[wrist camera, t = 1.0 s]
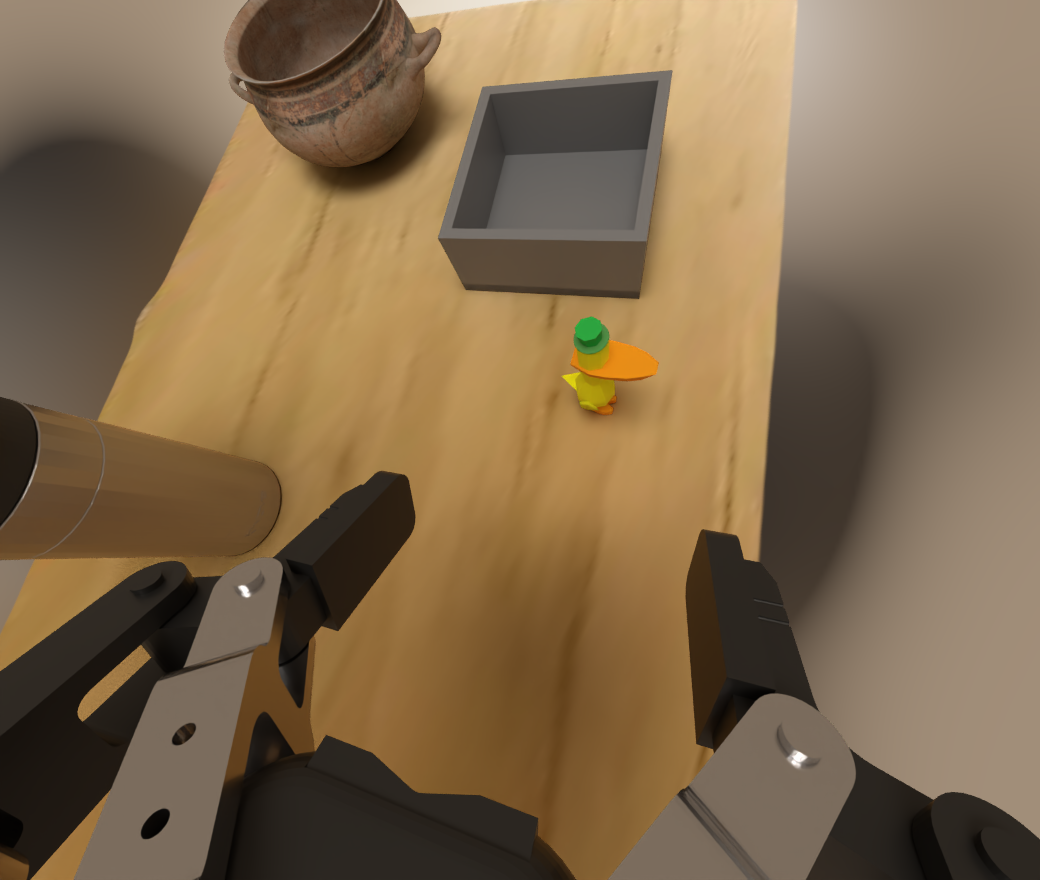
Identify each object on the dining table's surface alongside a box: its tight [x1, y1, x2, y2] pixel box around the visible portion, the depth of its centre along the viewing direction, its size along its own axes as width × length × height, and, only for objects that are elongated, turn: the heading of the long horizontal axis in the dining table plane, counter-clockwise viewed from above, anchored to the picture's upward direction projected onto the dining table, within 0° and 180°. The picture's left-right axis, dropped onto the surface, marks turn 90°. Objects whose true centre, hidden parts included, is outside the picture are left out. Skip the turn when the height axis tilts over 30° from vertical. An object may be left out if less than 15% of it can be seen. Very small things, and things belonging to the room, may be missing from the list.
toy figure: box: [562, 317, 659, 415], centre depth 28 cm, size 7×4×12 cm, turn 73°
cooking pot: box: [224, 0, 441, 167], centre depth 43 cm, size 25×19×12 cm
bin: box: [438, 70, 672, 299], centre depth 36 cm, size 17×17×7 cm
